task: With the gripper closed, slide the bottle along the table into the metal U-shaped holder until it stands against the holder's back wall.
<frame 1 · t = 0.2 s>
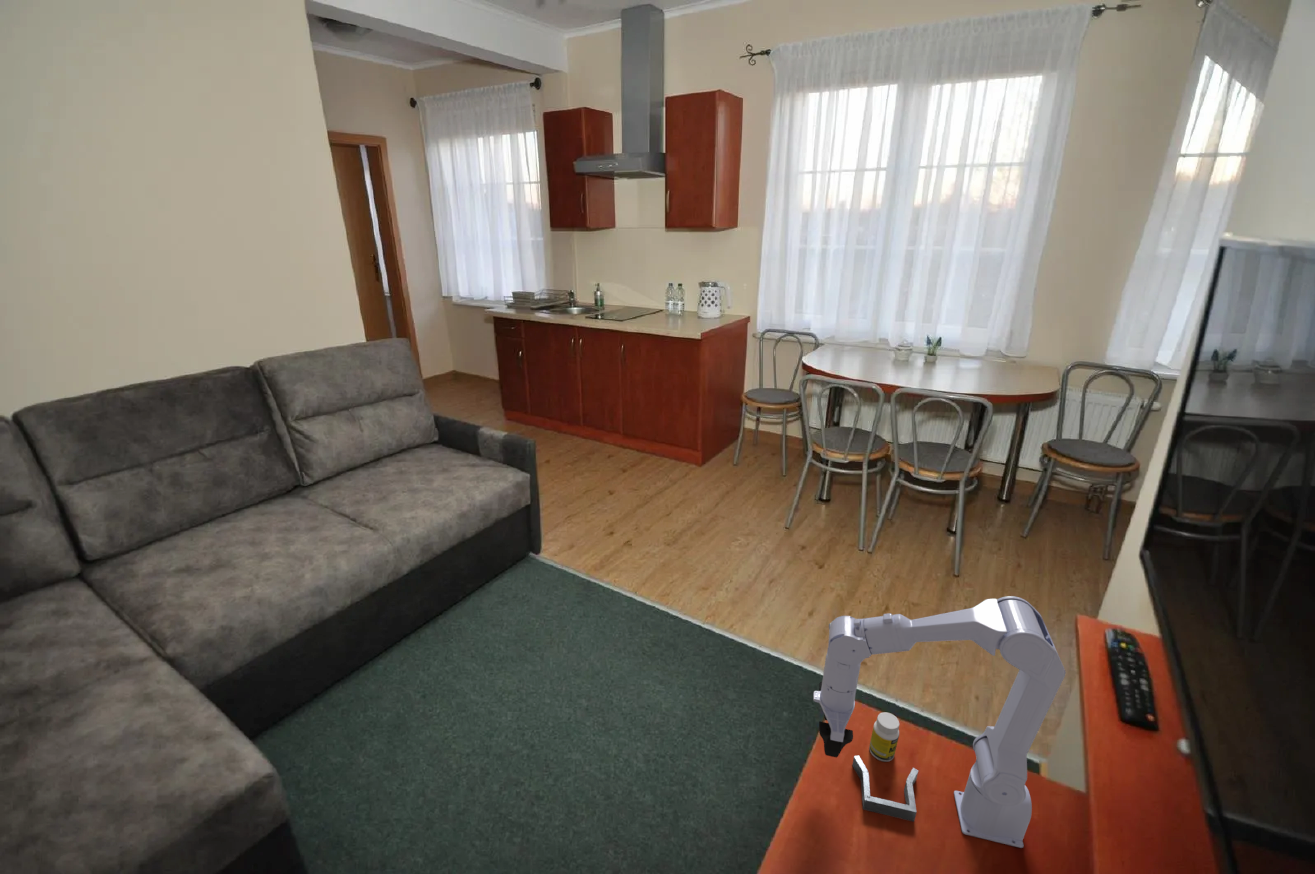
hand: (830, 736, 107), 10 cm above the table, tool pointing down, fingers open, 7 cm apart
u holder: (886, 795, 107), on the table
supplement bottle: (881, 752, 115), on the table
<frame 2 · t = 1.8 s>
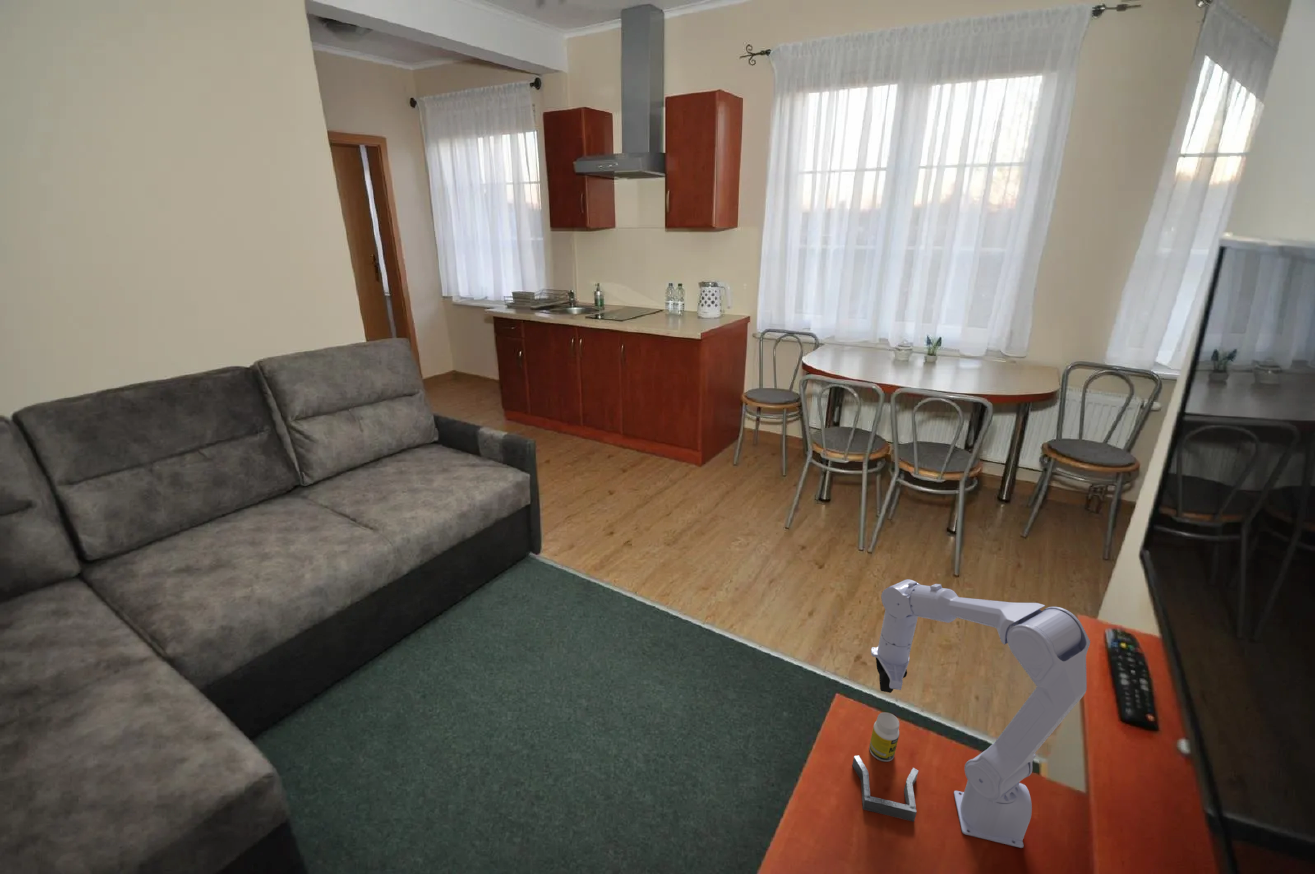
hand: (885, 689, 118), 9 cm above the table, tool pointing down, fingers closed
nothing on the table moved.
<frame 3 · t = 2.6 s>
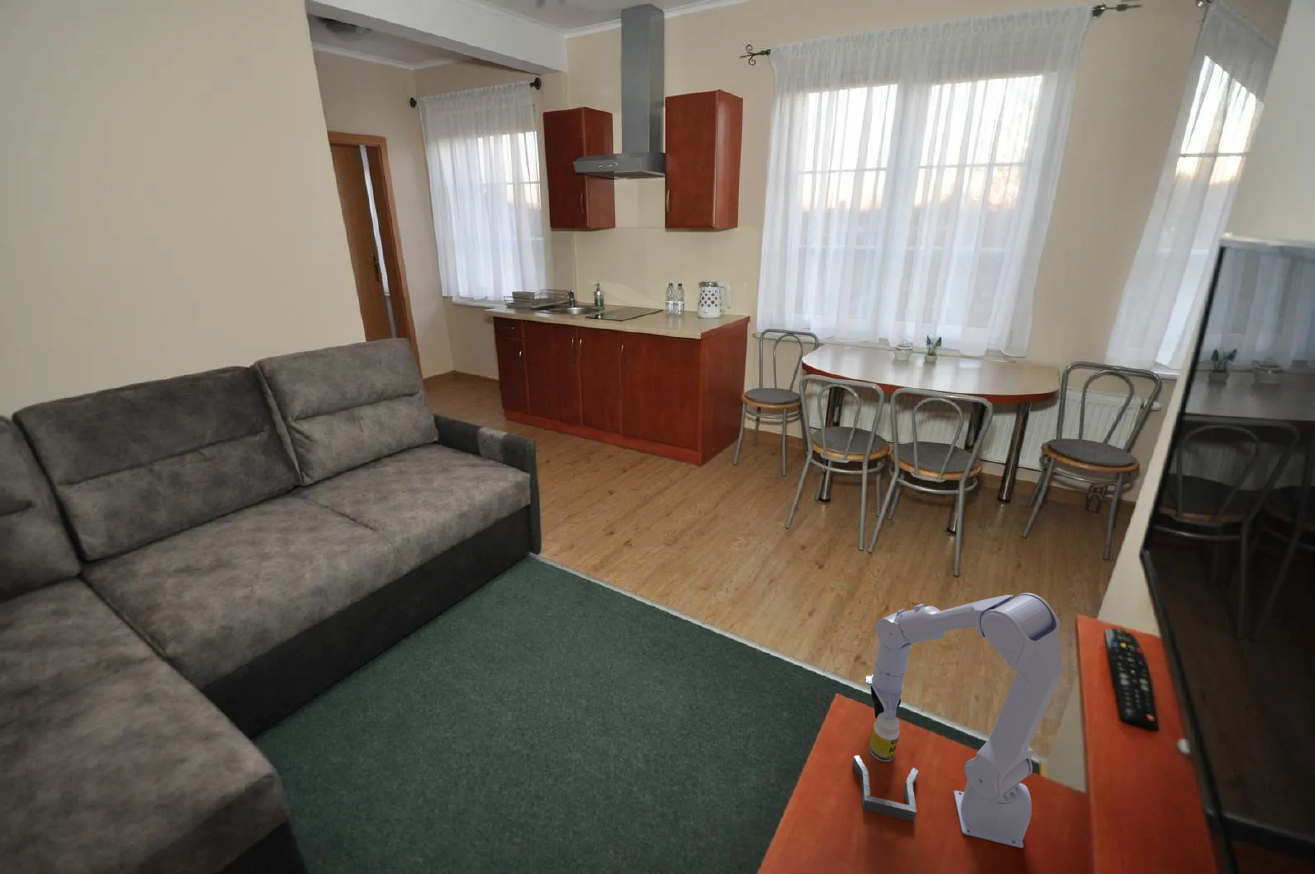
hand: (880, 716, 121), 2 cm above the table, tool pointing down, fingers closed
nothing on the table moved.
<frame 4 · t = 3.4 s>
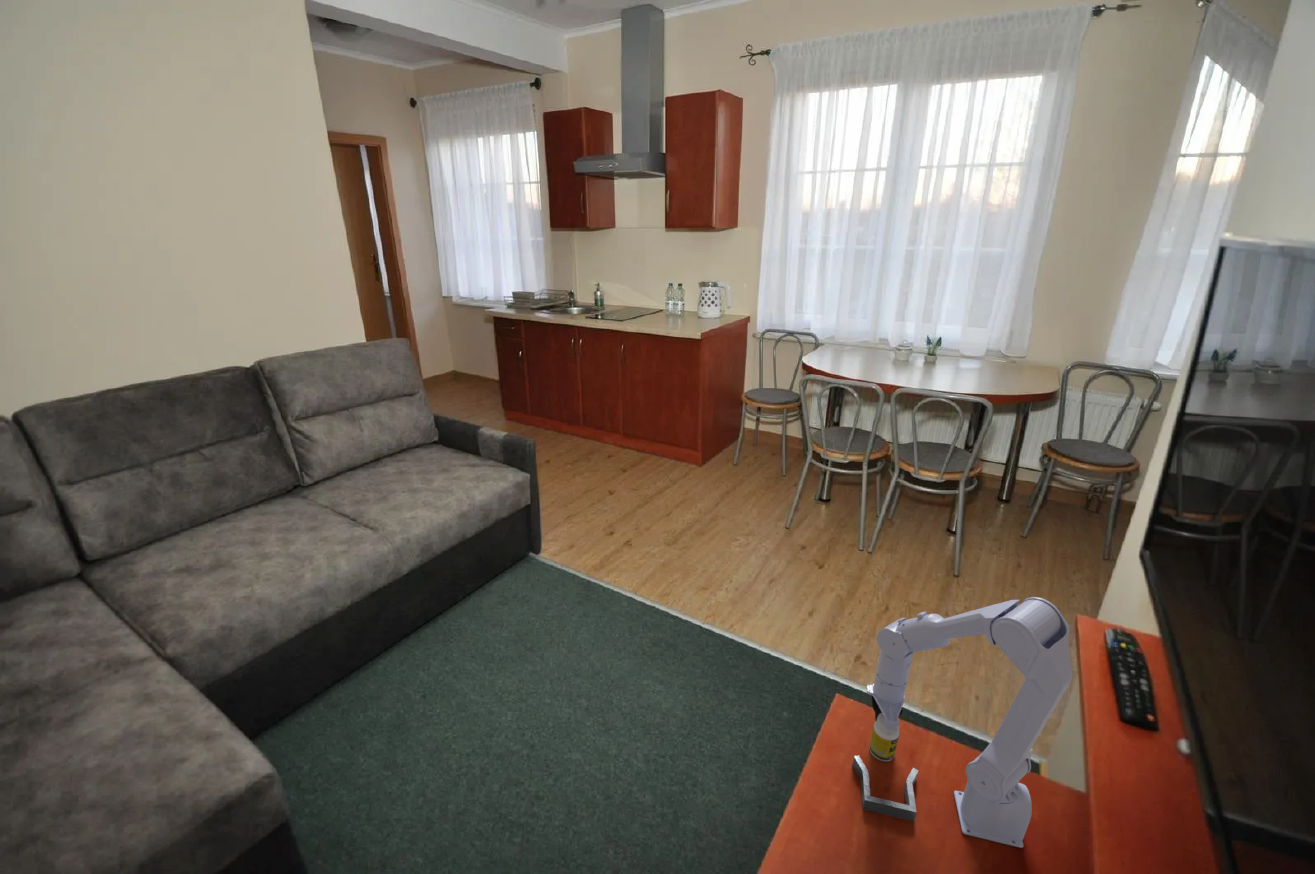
hand: (881, 726, 118), 2 cm above the table, tool pointing down, fingers closed
supplement bottle: (881, 752, 115), on the table, touching gripper
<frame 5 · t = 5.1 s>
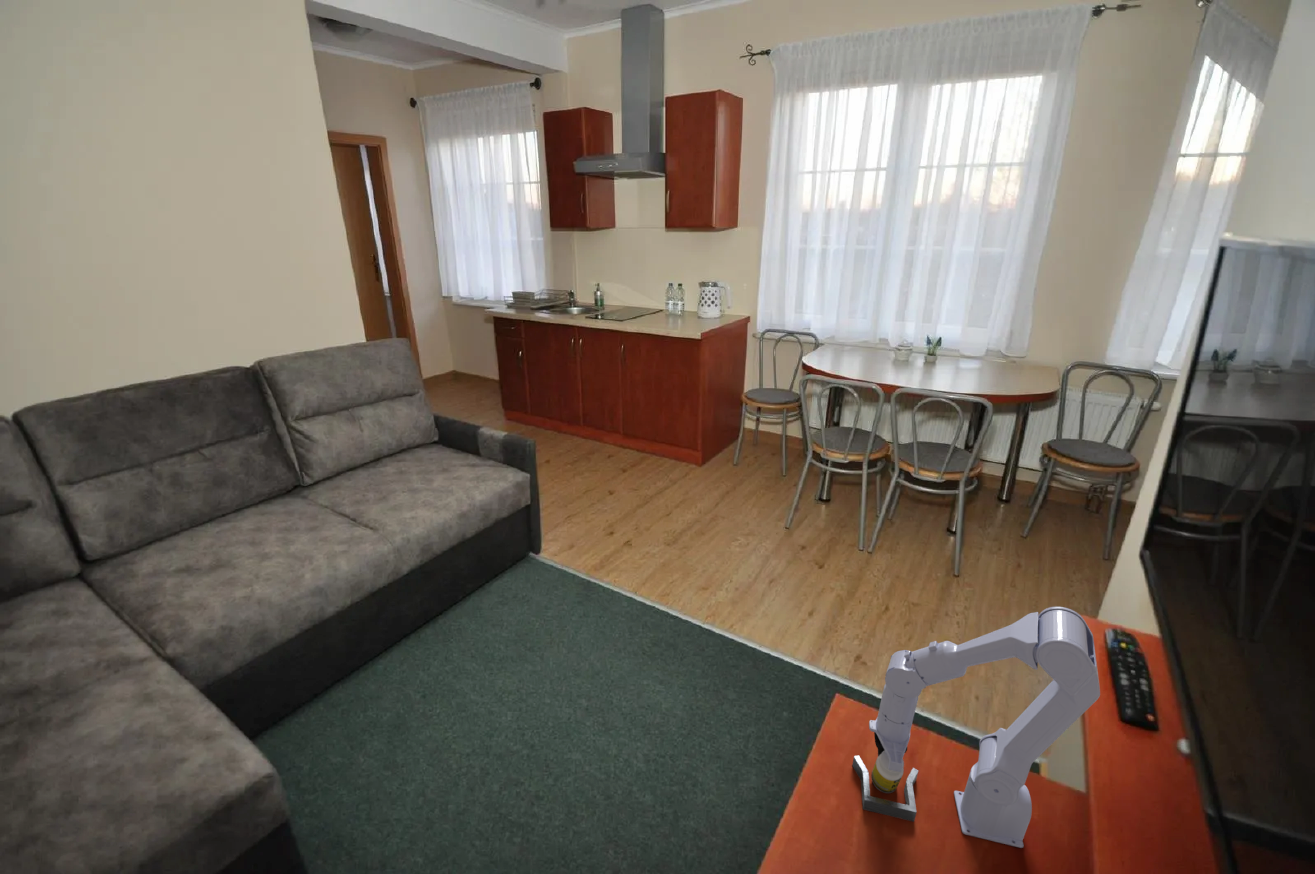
hand: (884, 764, 110), 2 cm above the table, tool pointing down, fingers closed, pressing on supplement bottle
supplement bottle: (884, 780, 109), point 1 cm above the table, touching gripper
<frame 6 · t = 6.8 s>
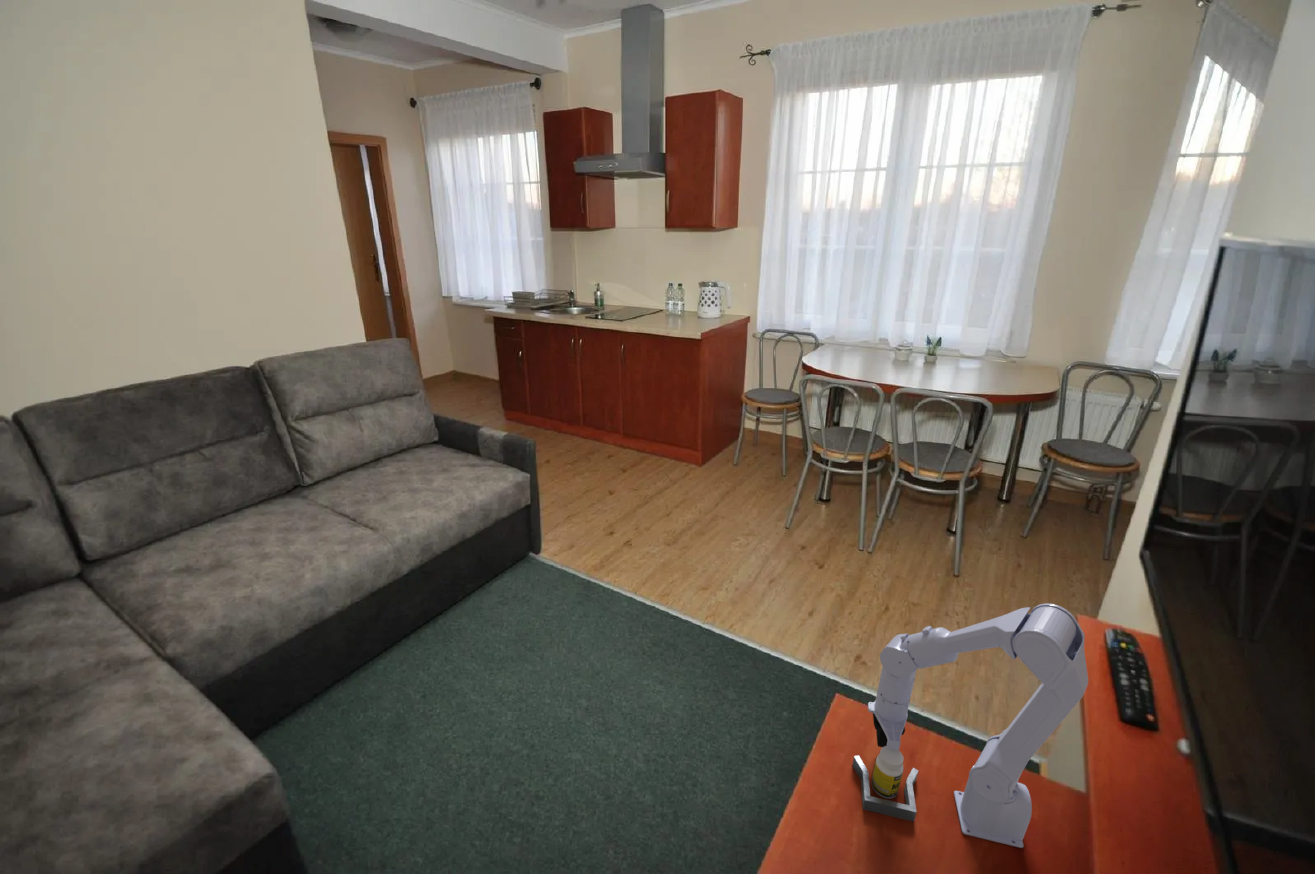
hand: (882, 744, 114), 2 cm above the table, tool pointing down, fingers closed
supplement bottle: (884, 788, 108), on the table
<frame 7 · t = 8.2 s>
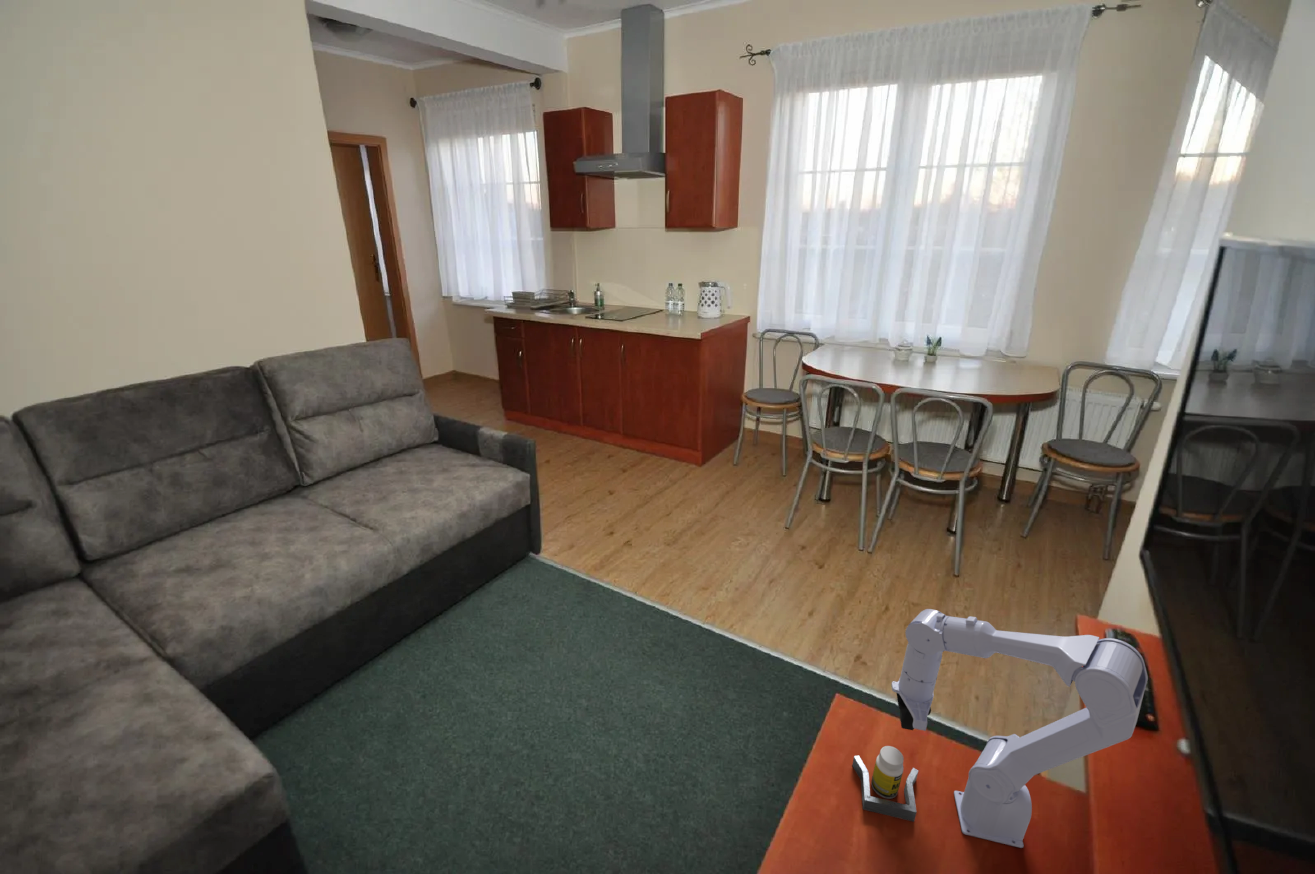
hand: (906, 726, 109), 9 cm above the table, tool pointing down, fingers closed
nothing on the table moved.
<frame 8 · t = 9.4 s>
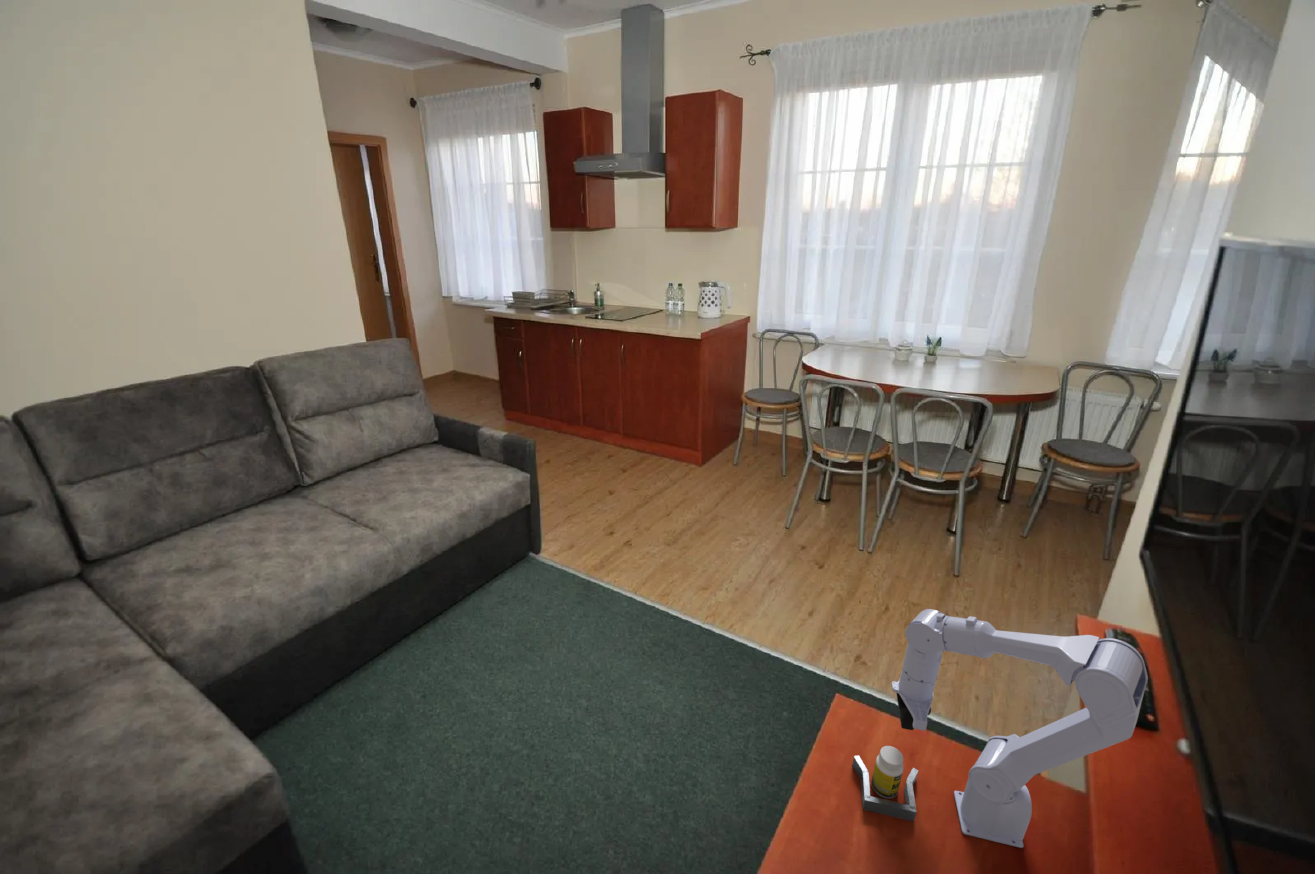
hand: (906, 726, 109), 9 cm above the table, tool pointing down, fingers closed
nothing on the table moved.
at the end: supplement bottle 1.6 cm off-centre on the u holder, point 0.0 cm above the u holder's base; supplement bottle tilted 0°; supplement bottle moved 7.8 cm from its start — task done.
